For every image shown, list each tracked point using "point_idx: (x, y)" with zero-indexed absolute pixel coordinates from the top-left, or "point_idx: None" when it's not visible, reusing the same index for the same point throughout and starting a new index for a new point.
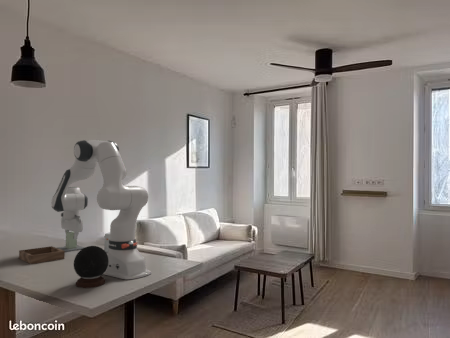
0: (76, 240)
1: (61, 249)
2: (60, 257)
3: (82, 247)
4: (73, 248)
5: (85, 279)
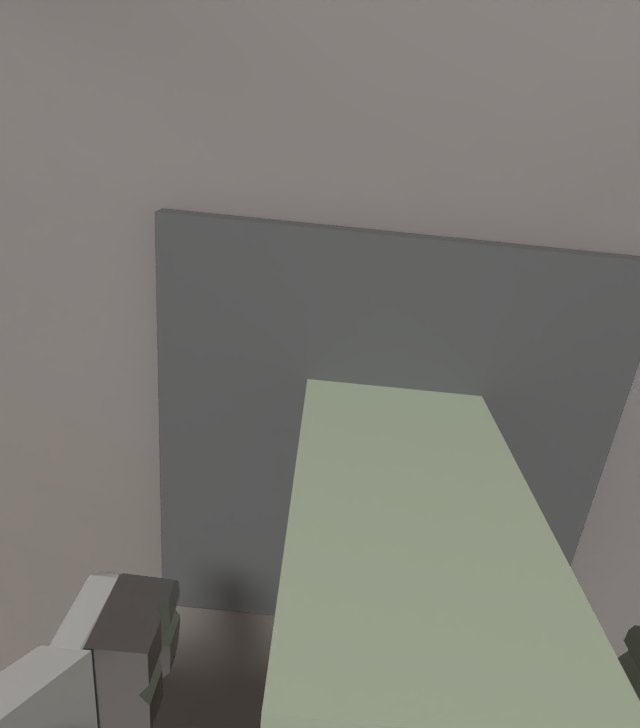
0: (531, 508)
1: None
2: None
3: (556, 289)
4: None
5: None
